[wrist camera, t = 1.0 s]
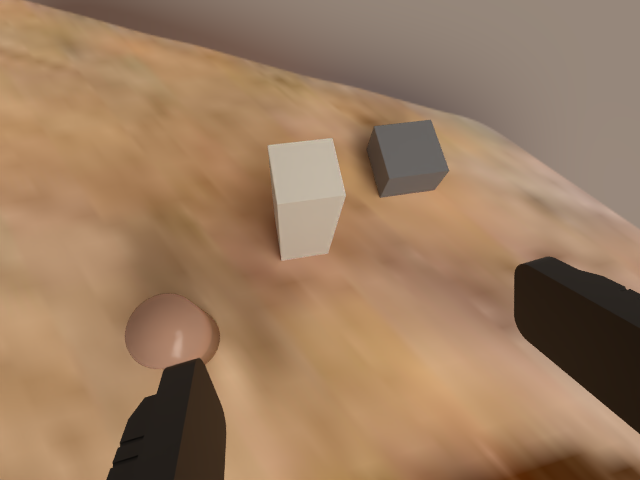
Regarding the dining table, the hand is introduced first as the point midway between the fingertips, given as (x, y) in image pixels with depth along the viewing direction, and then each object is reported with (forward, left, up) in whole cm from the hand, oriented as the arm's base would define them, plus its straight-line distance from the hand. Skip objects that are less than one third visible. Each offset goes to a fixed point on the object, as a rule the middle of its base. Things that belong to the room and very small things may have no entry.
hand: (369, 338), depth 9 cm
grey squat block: (+13, +18, -24) cm, 33 cm away
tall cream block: (+1, +12, -24) cm, 27 cm away
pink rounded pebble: (-10, +4, -24) cm, 26 cm away
